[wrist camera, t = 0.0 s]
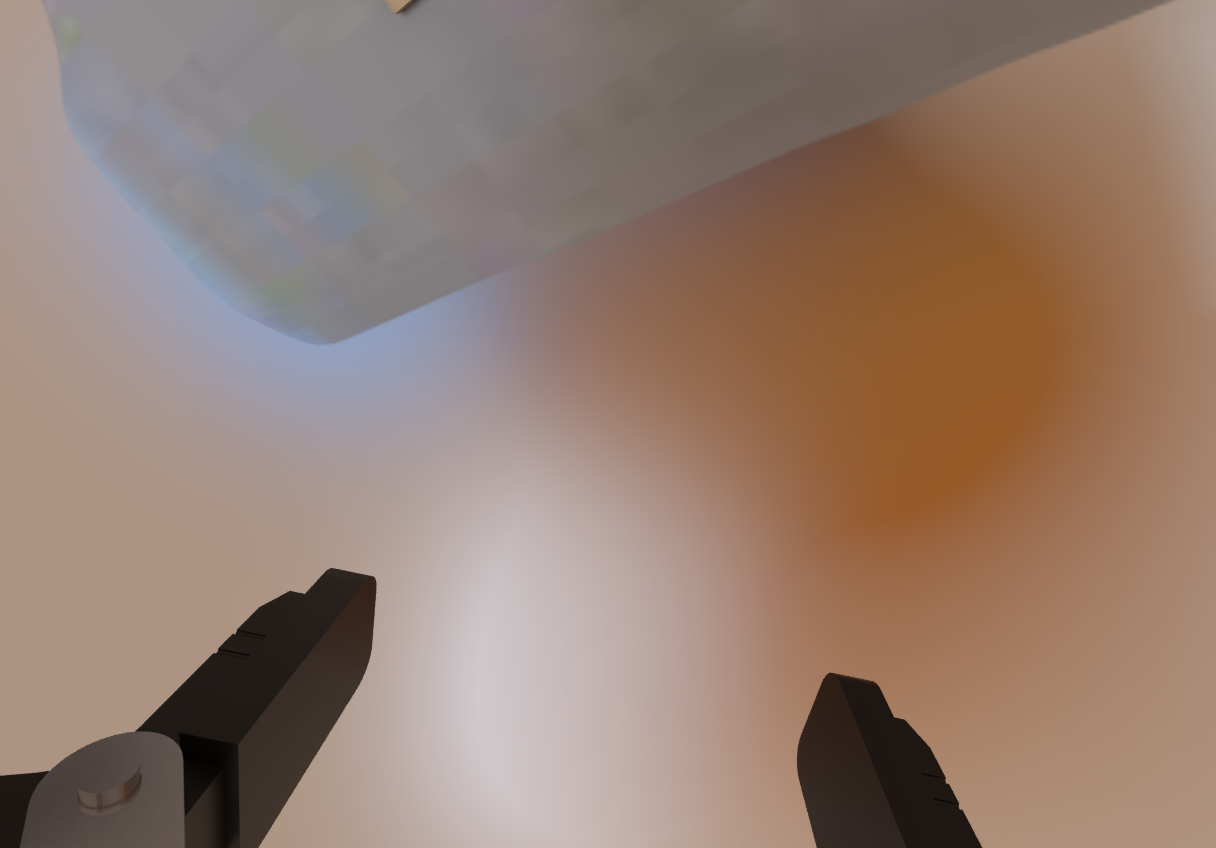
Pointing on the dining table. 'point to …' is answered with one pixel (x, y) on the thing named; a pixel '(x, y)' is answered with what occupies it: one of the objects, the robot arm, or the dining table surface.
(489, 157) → the dining table surface
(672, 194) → the dining table surface
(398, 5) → the hinge base
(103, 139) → the dining table surface
